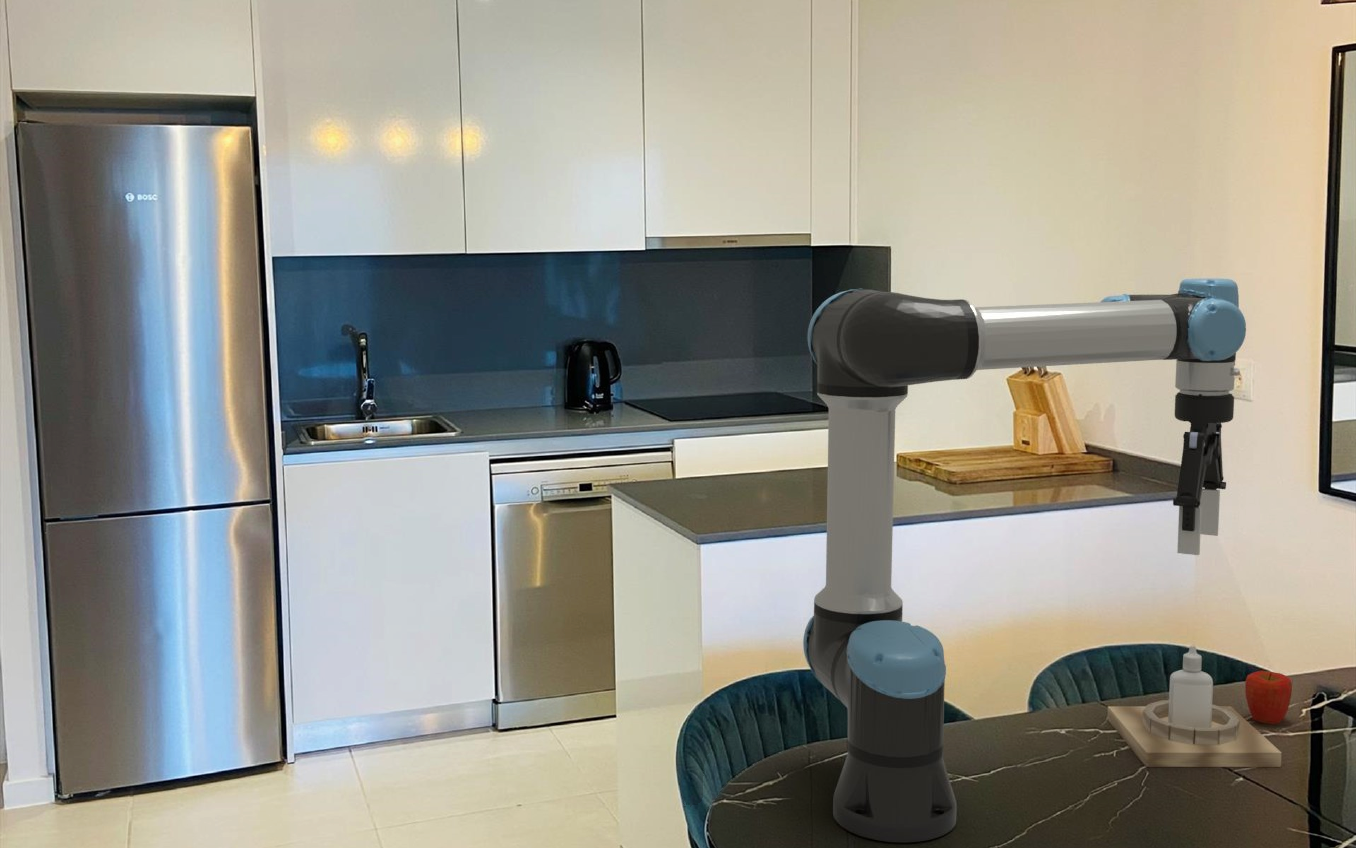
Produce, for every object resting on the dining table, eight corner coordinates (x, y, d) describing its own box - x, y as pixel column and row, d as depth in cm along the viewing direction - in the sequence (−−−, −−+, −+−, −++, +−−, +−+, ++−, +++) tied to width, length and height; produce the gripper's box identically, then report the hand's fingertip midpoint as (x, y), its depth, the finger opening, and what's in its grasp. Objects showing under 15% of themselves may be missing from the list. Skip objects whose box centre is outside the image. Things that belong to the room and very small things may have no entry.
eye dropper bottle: (1203, 737, 183) (1207, 653, 182) (1163, 727, 187) (1167, 646, 185) (1215, 728, 187) (1218, 646, 185) (1175, 719, 190) (1178, 638, 189)
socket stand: (1146, 766, 178) (1147, 738, 178) (1107, 719, 196) (1108, 693, 196) (1280, 767, 178) (1282, 738, 177) (1229, 719, 196) (1231, 693, 195)
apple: (1255, 730, 191) (1257, 680, 190) (1236, 715, 197) (1238, 667, 196) (1298, 729, 191) (1300, 679, 190) (1277, 714, 198) (1280, 666, 197)
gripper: (1217, 403, 168) (1210, 565, 171) (1249, 384, 189) (1242, 529, 192) (1155, 400, 172) (1150, 559, 175) (1193, 382, 193) (1187, 524, 196)
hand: (1198, 544), depth 183 cm, fingers open, 13 cm apart
